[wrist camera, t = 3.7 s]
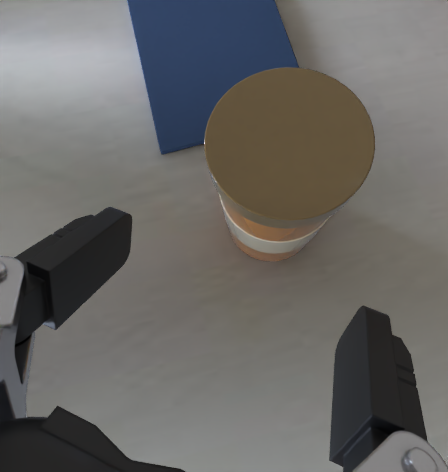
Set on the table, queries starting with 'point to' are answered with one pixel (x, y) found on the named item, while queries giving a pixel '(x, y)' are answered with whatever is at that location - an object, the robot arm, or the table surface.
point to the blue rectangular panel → (202, 58)
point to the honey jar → (286, 157)
